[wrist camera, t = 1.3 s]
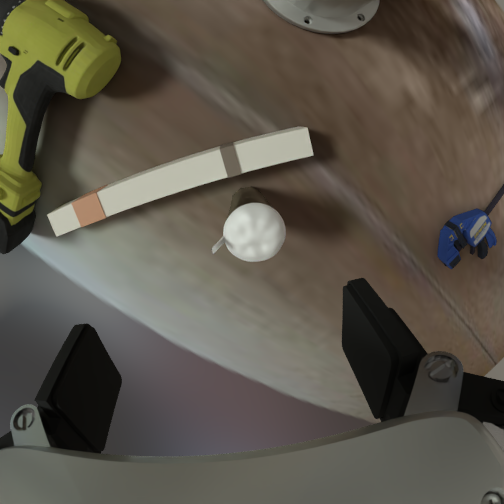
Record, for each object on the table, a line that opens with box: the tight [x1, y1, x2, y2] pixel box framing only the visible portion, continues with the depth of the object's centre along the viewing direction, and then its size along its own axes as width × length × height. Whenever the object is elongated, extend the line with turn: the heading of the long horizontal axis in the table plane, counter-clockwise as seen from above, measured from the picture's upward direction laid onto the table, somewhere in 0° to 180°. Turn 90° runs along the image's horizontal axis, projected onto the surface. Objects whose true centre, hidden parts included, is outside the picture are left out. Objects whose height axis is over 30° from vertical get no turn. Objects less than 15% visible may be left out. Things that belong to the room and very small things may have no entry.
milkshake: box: [211, 187, 286, 262], centre depth 25 cm, size 4×5×10 cm
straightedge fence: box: [47, 126, 314, 237], centre depth 26 cm, size 26×3×3 cm, turn 105°
